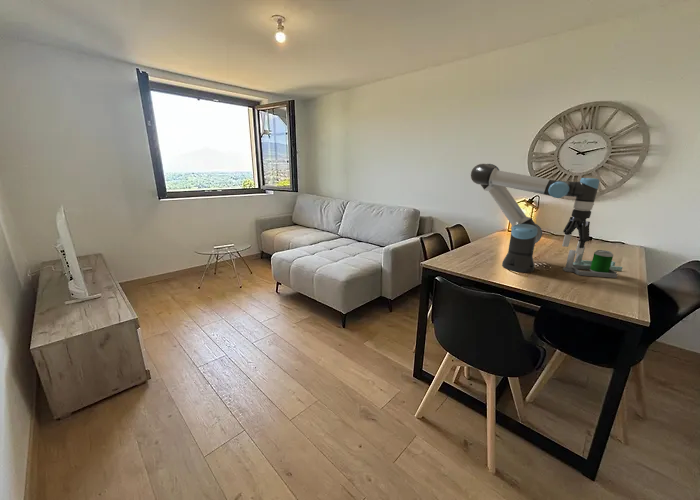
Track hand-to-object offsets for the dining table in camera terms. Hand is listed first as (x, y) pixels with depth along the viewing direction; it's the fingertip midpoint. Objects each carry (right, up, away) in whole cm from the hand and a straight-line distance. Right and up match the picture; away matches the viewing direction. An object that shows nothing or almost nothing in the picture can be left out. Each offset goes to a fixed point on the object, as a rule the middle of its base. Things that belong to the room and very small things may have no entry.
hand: (571, 250), depth 151 cm
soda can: (+14, -13, 0) cm, 19 cm away
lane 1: (+9, -12, +1) cm, 15 cm away
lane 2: (+21, -9, +10) cm, 25 cm away
